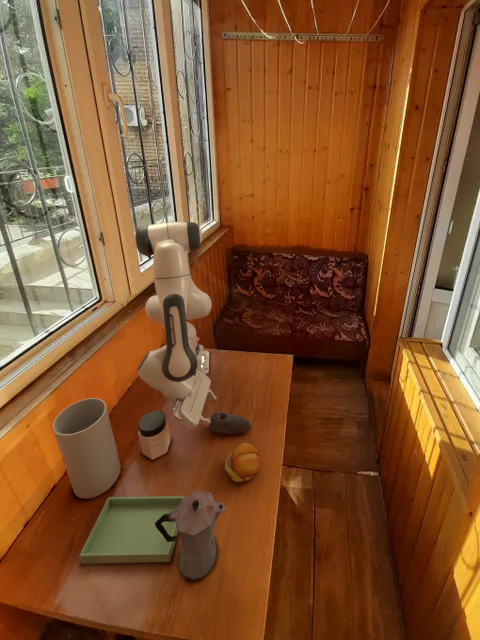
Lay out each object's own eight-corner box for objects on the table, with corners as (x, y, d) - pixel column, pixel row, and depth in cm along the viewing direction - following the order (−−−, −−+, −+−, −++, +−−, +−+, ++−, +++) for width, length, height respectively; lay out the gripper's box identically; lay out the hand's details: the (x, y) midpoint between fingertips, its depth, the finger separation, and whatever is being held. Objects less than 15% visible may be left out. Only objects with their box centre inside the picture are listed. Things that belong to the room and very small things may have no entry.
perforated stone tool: (253, 426, 112) (252, 412, 110) (250, 439, 107) (249, 424, 105) (213, 423, 113) (211, 408, 111) (208, 435, 109) (206, 420, 106)
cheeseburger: (240, 447, 104) (244, 428, 100) (264, 470, 100) (270, 452, 95) (217, 470, 97) (221, 452, 92) (242, 497, 92) (247, 479, 87)
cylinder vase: (123, 453, 102) (109, 393, 94) (118, 491, 91) (101, 427, 82) (79, 466, 98) (60, 404, 89) (68, 506, 87) (45, 441, 78)
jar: (144, 464, 99) (139, 436, 95) (140, 444, 105) (134, 417, 101) (173, 450, 103) (169, 423, 99) (167, 432, 110) (163, 406, 106)
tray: (110, 504, 88) (108, 496, 87) (185, 503, 88) (184, 495, 87) (81, 563, 75) (79, 555, 74) (169, 562, 76) (168, 554, 75)
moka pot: (230, 571, 74) (225, 517, 67) (161, 596, 70) (149, 540, 63) (226, 526, 83) (221, 474, 76) (164, 546, 79) (154, 493, 72)
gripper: (177, 408, 93) (212, 432, 96) (195, 363, 112) (224, 384, 116) (164, 419, 94) (199, 443, 98) (184, 373, 113) (212, 394, 117)
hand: (212, 411), depth 107 cm, fingers open, 8 cm apart
